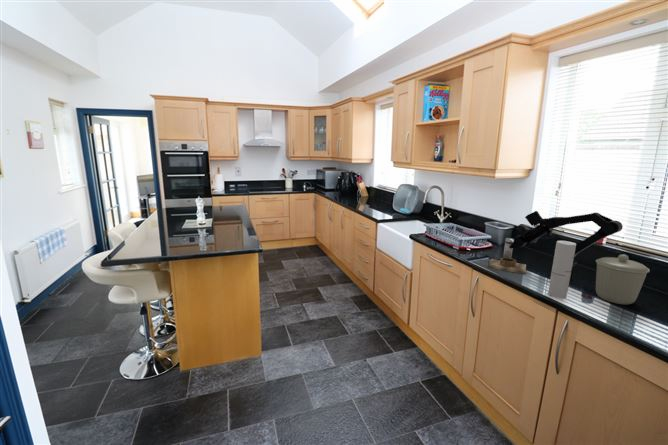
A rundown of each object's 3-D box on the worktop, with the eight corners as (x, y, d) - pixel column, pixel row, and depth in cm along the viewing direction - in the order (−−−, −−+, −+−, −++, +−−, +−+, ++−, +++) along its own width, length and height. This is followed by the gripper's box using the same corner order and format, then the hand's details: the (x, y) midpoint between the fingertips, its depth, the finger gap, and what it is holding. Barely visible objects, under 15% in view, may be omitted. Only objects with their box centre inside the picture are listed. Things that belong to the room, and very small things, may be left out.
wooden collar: (515, 264, 188) (516, 259, 187) (515, 268, 181) (516, 263, 180) (500, 261, 192) (501, 256, 191) (499, 265, 185) (500, 260, 184)
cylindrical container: (570, 298, 147) (580, 245, 142) (554, 298, 147) (563, 244, 142) (559, 292, 154) (569, 240, 149) (544, 291, 154) (553, 240, 149)
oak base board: (525, 266, 188) (526, 264, 188) (525, 274, 176) (525, 271, 176) (491, 261, 197) (491, 258, 197) (488, 267, 185) (489, 265, 185)
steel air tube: (511, 261, 198) (514, 238, 195) (510, 263, 194) (514, 240, 191) (502, 259, 200) (505, 237, 198) (502, 261, 197) (505, 239, 194)
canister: (589, 288, 160) (598, 246, 155) (639, 299, 149) (650, 254, 144) (588, 300, 146) (597, 255, 142) (643, 313, 135) (654, 264, 130)
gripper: (535, 218, 191) (513, 233, 202) (520, 222, 180) (497, 237, 191) (547, 234, 186) (524, 248, 197) (533, 239, 175) (509, 253, 186)
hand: (513, 246), depth 193 cm, fingers open, 9 cm apart
